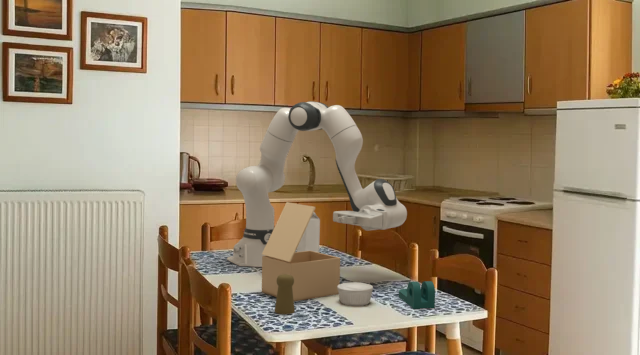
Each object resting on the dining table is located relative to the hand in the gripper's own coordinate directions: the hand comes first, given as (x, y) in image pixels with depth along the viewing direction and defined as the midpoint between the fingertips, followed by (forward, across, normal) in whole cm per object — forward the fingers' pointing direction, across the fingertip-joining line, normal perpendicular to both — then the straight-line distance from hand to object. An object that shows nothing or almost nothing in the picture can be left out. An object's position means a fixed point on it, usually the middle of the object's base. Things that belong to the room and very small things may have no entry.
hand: (340, 220), depth 243 cm
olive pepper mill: (+34, +16, +23) cm, 44 cm away
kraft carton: (+16, 0, +23) cm, 28 cm away
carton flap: (+22, 0, +2) cm, 22 cm away
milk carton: (-32, -58, +23) cm, 70 cm away
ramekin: (+9, +19, +24) cm, 31 cm away
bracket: (-7, +29, +24) cm, 38 cm away
